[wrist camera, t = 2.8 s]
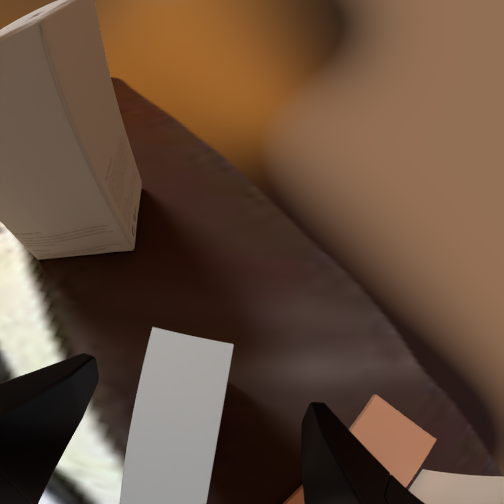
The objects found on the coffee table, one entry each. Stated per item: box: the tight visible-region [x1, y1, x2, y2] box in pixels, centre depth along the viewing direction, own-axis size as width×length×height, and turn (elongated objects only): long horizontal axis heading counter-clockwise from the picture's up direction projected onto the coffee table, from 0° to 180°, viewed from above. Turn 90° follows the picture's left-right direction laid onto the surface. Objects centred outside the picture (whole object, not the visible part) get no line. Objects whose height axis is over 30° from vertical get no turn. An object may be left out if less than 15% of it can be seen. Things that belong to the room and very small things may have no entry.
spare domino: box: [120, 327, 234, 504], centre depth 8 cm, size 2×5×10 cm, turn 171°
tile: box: [283, 395, 436, 504], centre depth 11 cm, size 9×6×1 cm, turn 138°
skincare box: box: [0, 0, 142, 260], centre depth 11 cm, size 8×6×15 cm
